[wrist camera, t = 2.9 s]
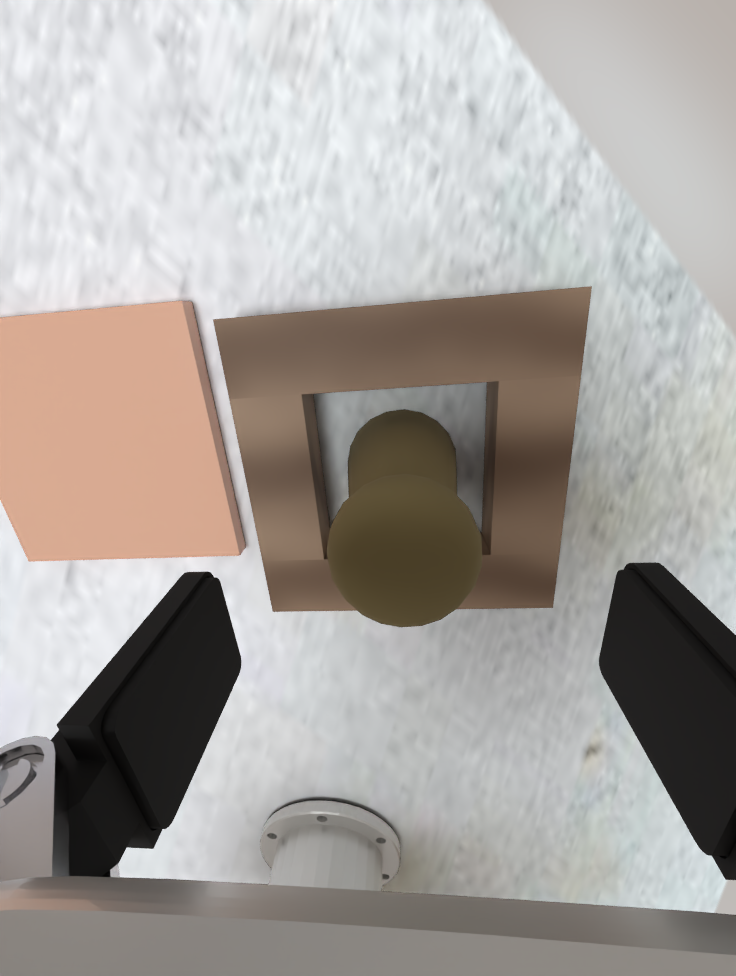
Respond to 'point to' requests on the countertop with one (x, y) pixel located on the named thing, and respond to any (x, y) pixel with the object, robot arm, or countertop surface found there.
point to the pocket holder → (398, 364)
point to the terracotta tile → (113, 437)
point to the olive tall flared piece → (404, 524)
